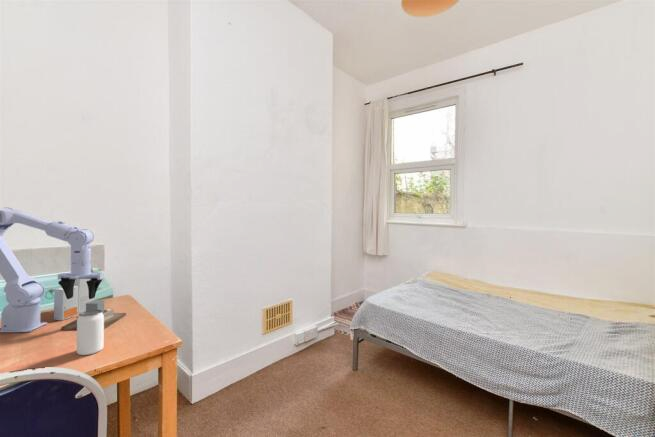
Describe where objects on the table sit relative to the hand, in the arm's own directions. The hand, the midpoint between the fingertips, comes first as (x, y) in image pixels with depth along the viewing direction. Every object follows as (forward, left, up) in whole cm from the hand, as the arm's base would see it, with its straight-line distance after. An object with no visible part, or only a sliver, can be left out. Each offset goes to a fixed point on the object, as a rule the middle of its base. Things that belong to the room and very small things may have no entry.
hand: (80, 298), depth 109 cm
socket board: (+4, +2, -10) cm, 11 cm away
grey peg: (+4, +2, -9) cm, 10 cm away
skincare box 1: (-10, +7, -10) cm, 16 cm away
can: (+17, -21, -10) cm, 29 cm away
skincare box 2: (-11, +16, -10) cm, 22 cm away
